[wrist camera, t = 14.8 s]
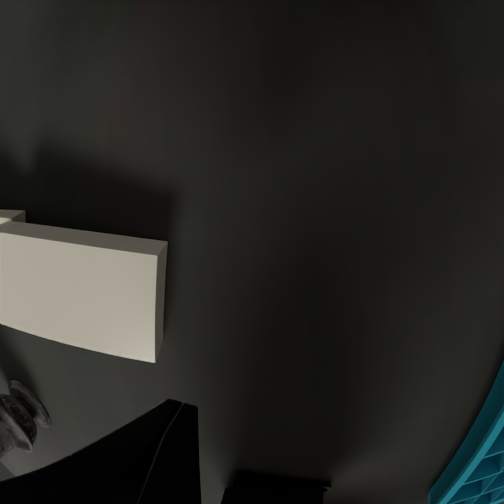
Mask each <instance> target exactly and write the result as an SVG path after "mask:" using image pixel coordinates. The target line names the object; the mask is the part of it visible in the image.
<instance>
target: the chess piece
mask: <svg viewBox="0 0 504 504" xmlns="http://www.w3.org/2000/svg"><path fill="white" fill-rule="evenodd" d="M9 391H10V395H11V396H10V395H5V394H0V460H1V459H2V458H3V457H4V456H5V455H6V454H7V453H8V452H9V451H10V450H12V449H14V448H16V447H17V448H20V449H22V450H24V451H26V452H32V451H33V446H32V445H33V444H34V443H35V440H36V436H37V428H36V425H38V426H41V427H46V428H47V427H49V426H50V424H51V420H50V417H49V414H48V413H47V411H46V409H45V407H44V406H43V405H42V403H41V402H40V401H39V399H38V398H37V397H36V396H35V395H34V394H33V393H32V392H31V391H30V390H29V389H28V388H27V387H26V386H24V385H23V384H22V383H20V382H18V381H15V380H11V381H10V382H9Z"/></svg>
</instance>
